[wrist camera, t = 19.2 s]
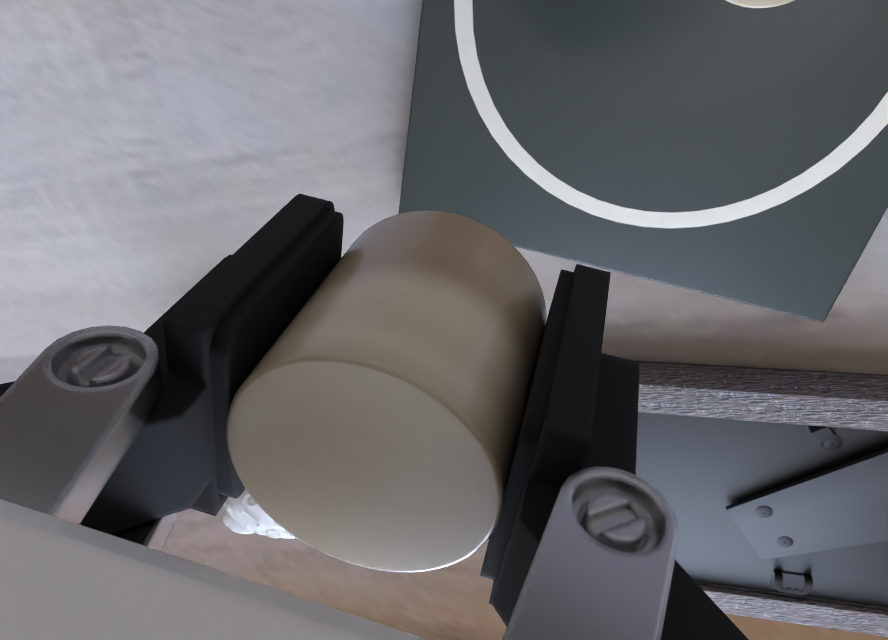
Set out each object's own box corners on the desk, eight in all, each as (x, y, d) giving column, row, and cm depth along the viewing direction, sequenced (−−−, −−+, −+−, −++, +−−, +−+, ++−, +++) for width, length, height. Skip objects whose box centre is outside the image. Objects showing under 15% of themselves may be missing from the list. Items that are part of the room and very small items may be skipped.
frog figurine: (292, 464, 38) (228, 570, 32) (220, 362, 35) (136, 459, 29) (386, 445, 35) (334, 556, 30) (316, 334, 33) (245, 434, 27)
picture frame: (1107, 388, 25) (588, 358, 30) (1139, 425, 23) (584, 387, 28) (992, 621, 32) (587, 567, 36) (1010, 663, 30) (584, 600, 35)
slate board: (481, -440, 18) (471, -456, 17) (1179, -355, 16) (1212, -369, 15) (405, 207, 28) (396, 219, 27) (818, 309, 26) (824, 325, 25)
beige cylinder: (346, 185, 11) (218, 320, 8) (571, 241, 11) (533, 409, 7) (334, 361, 13) (228, 526, 10) (521, 414, 13) (474, 605, 9)
